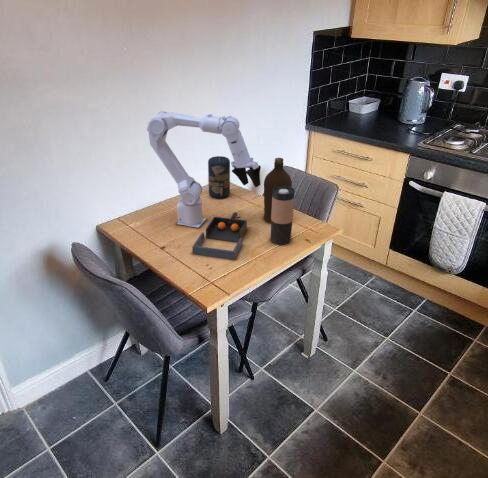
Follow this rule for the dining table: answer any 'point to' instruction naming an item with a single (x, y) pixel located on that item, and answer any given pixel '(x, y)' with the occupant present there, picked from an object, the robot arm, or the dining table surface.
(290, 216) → the travel mug
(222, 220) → the scoop pan
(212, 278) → the dining table surface
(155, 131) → the robot arm
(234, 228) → the ball
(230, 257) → the frame
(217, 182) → the canister
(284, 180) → the olive oil
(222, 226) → the ball
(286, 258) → the dining table surface
